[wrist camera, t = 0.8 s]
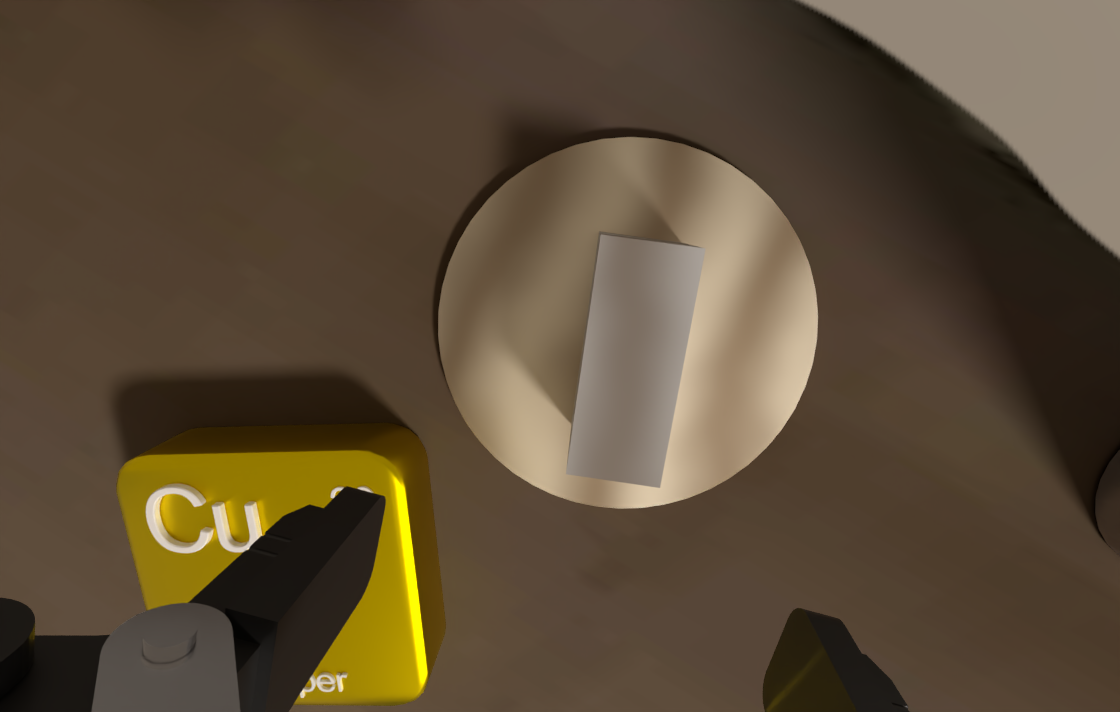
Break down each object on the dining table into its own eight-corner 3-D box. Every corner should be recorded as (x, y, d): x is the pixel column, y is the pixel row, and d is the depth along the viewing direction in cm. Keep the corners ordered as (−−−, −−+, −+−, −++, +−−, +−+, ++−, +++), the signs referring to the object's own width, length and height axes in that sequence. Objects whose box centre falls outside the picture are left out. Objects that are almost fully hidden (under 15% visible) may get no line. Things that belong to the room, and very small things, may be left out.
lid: (852, 167, 27) (940, 149, 20) (765, 522, 31) (812, 606, 25) (459, 115, 27) (414, 81, 20) (430, 473, 32) (385, 541, 25)
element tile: (216, 649, 35) (160, 715, 31) (167, 425, 32) (94, 460, 27) (450, 650, 34) (428, 717, 30) (425, 419, 31) (396, 454, 26)
